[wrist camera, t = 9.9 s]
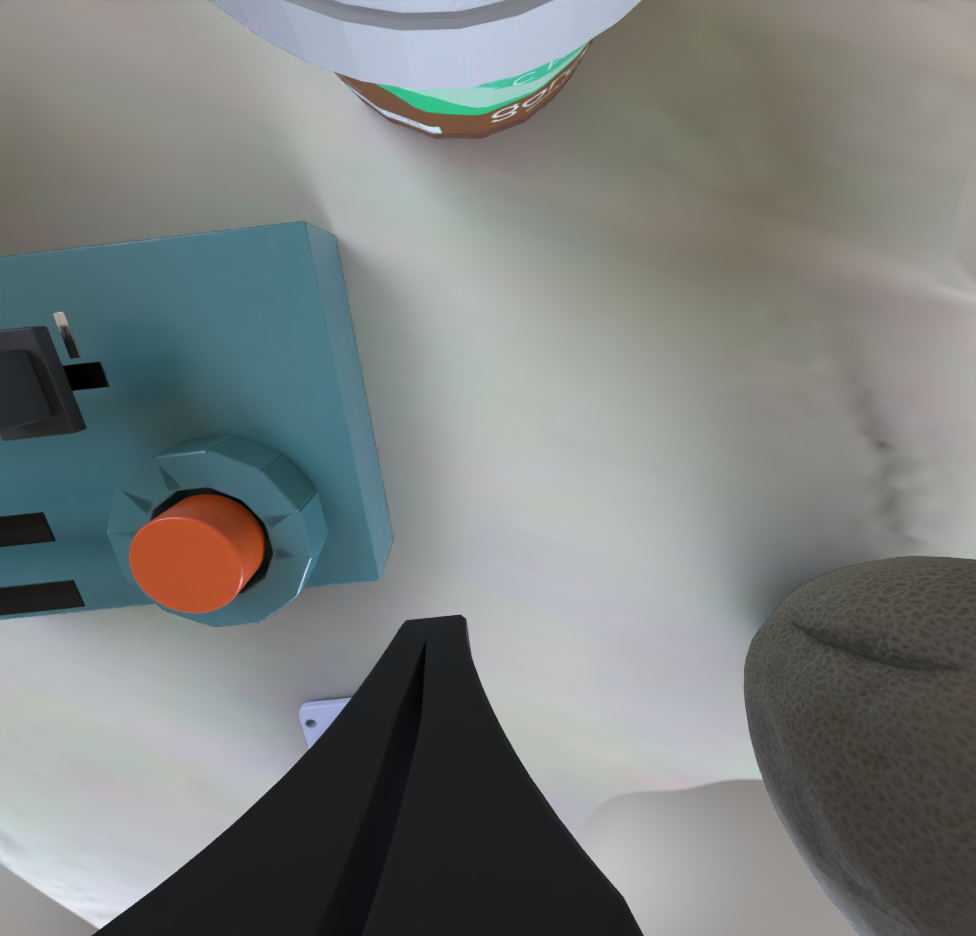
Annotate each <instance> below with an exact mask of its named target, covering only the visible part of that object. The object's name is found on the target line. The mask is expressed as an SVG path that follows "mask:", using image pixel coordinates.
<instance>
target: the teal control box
mask: <svg viewBox="0 0 976 936" xmlns="http://www.w3.org/2000/svg"><path fill="white" fill-rule="evenodd" d="M58 312H65V313H66V316H67V318H68V321H69V323H70V326H71V329H72V331H73V334H74V337H75V339H76V342H77V345H78V347H79V350H80V353H81V355H82V358H75V359H70V357H69V355H68V352H67V349H66V347H65V344H64V342H63V339H62V337H61V334H60V331H59V329H58V326H57V324H56V321H55V318H54V316H53V313H58ZM30 326H46V327H47V328H48V330H49V333H50V336H51V338H52V341H53V343H54V346H55V348H56V351H57V353H58V356H59V358H60V361H61V363H62V366H64V365H73V364H81V363H90V362H99V361H101V364H102V367H103V369H104V372H105V375H106V378H107V380H108V383H109V386H110V387H104V388H95V389H86V390H77V391H73V394H74V397H75V399H76V402H77V404H78V407H79V409H80V412H81V414H82V417H83V419H84V422H85V424H86V427H87V429H85V430H83V431H80V432H77V433H74V434H65V435H56V436H47V437H38V438H29V439H20V440H11V441H3V440H2V438H1V436H0V516H6V515H16V514H25V513H34V512H43V513H44V515H45V517H46V519H47V521H48V524H49V526H50V528H51V530H52V533H53V535H54V537H55V539H56V541H54V542H45V543H36V544H27V545H17V546H8V547H0V587H8V586H18V585H27V584H37V583H46V582H56V581H65V580H74V581H75V584H76V586H77V588H78V590H79V592H80V595H81V597H82V599H83V601H84V604H85V607H78V608H68V609H59V610H49V611H40V612H30V613H21V614H11V615H2V616H0V620H4V619H14V618H23V617H33V616H42V615H52V614H61V613H71V612H80V611H90V610H99V609H109V608H119V607H128V606H138V605H147V604H156V605H158V606H159V607H160V608H161V609H162V610H165V611H166V612H169V613H172V614H175V615H178V616H181V617H184V618H187V619H190V620H193V621H196V622H199V623H203V624H206V625H209V626H214V627H221V626H230V625H240V624H249V623H259V622H261V621H263V620H265V619H266V618H268V617H269V616H271V615H272V614H274V613H275V612H276V611H278V610H279V609H281V608H282V607H284V606H285V605H286V604H288V603H289V602H291V601H292V600H294V599H295V598H296V597H297V596H298V594H299V593H300V592H301V590H302V588H309V587H318V586H328V585H338V584H347V583H357V582H366V581H376V580H380V577H381V575H382V572H383V569H384V566H385V563H386V560H387V557H388V555H389V552H390V549H391V546H392V543H393V540H394V538H393V533H392V528H391V523H390V517H389V512H388V507H387V502H386V497H385V491H384V486H383V481H382V476H381V471H380V465H379V460H378V455H377V450H376V445H375V439H374V434H373V429H372V424H371V419H370V413H369V408H368V403H367V398H366V392H365V387H364V382H363V377H362V372H361V366H360V361H359V356H358V351H357V346H356V340H355V335H354V330H353V325H352V320H351V314H350V309H349V304H348V299H347V294H346V288H345V283H344V278H343V273H342V267H341V262H340V257H339V252H338V247H337V241H336V237H335V235H333V234H331V233H329V232H327V231H324V230H322V229H320V228H318V227H316V226H314V225H311V224H309V223H307V222H305V221H299V222H291V223H282V224H274V225H265V226H257V227H248V228H239V229H231V230H222V231H214V232H205V233H197V234H188V235H179V236H171V237H162V238H154V239H145V240H137V241H128V242H120V243H111V244H102V245H94V246H85V247H77V248H68V249H60V250H51V251H42V252H34V253H25V254H17V255H8V256H0V330H4V329H13V328H22V327H30ZM200 494H213V495H219V496H223V497H227V498H229V499H232V500H234V501H236V502H238V503H239V504H241V505H242V506H244V507H245V508H247V509H248V510H249V511H250V512H251V513H252V514H253V515H254V516H255V518H256V519H257V520H258V522H259V523H260V525H261V527H262V529H263V532H264V535H265V540H266V553H265V557H264V560H263V562H262V564H261V565H260V567H259V568H258V570H257V571H256V572H255V573H254V574H253V576H252V577H251V578H250V579H249V581H248V582H247V583H246V584H245V586H244V587H243V588H242V589H241V590H240V592H239V593H238V594H237V595H236V596H235V598H234V599H233V600H232V601H231V602H229V603H228V604H227V605H225V606H223V607H221V608H219V609H217V610H214V611H210V612H205V613H186V612H180V611H177V610H173V609H171V608H168V607H166V606H164V605H162V604H160V603H159V602H157V601H155V600H154V599H153V598H151V597H150V596H149V595H148V594H147V593H146V592H145V591H144V590H143V589H142V588H141V587H140V586H139V584H138V583H137V581H136V580H135V578H134V576H133V573H132V571H131V568H130V563H129V550H130V546H131V543H132V540H133V538H134V536H135V535H136V533H137V532H138V531H139V530H140V529H141V528H142V527H143V526H144V525H146V524H147V523H149V522H150V521H152V520H153V519H155V518H156V517H157V516H159V515H160V514H162V513H163V512H165V511H166V510H168V509H169V508H171V507H172V506H174V505H175V504H177V503H178V502H180V501H181V500H183V499H185V498H187V497H190V496H194V495H200Z"/></svg>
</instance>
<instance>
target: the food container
mask: <svg viewBox="0 0 976 936" xmlns="http://www.w3.org/2000/svg"><path fill="white" fill-rule="evenodd" d="M210 1H211V2H212V3H214V4H215V5H216V6H218V7H219V8H220V9H222V10H223V11H224V12H226V13H227V14H229V15H230V16H231V17H233V18H234V19H235V20H237V21H238V22H239V23H241V24H242V25H243V26H245V27H246V28H247V29H249V30H250V31H251V32H253V33H254V34H256V35H257V36H259V37H261V38H263V39H265V40H267V41H269V42H270V43H272V44H274V45H276V46H278V47H280V48H282V49H283V50H285V51H287V52H289V53H291V54H293V55H295V56H296V57H298V58H300V59H302V60H304V61H306V62H308V63H310V64H313V65H316V66H319V67H322V68H325V69H328V70H330V71H333V72H334V73H335V74H336V75H337V76H338V77H339V78H340V79H341V80H342V81H343V82H344V83H345V84H346V85H347V86H348V87H349V88H350V89H351V90H352V91H353V92H354V93H355V94H356V95H357V96H358V97H359V98H360V99H361V100H362V101H364V102H365V103H366V104H368V105H369V106H371V107H372V108H373V109H375V110H376V111H377V112H379V113H380V114H381V115H383V116H384V117H385V118H387V119H388V120H389V121H391V122H393V123H396V124H399V125H401V126H404V127H407V128H409V129H412V130H415V131H417V132H420V133H423V134H426V135H428V136H431V137H434V138H484V137H487V136H489V135H492V134H495V133H497V132H500V131H502V130H505V129H508V128H510V127H513V126H515V125H518V124H521V123H523V122H525V121H526V120H527V119H529V118H530V117H531V116H532V115H534V114H535V113H536V112H537V111H538V110H540V109H541V108H542V107H543V106H545V105H546V104H547V103H548V102H549V101H551V100H552V99H553V98H554V97H555V96H556V95H557V93H558V92H559V91H560V90H561V88H562V87H563V86H564V85H565V84H566V82H567V81H568V80H569V79H570V77H571V76H572V74H573V72H574V71H575V69H576V67H577V66H578V64H579V62H580V61H581V59H582V57H583V56H584V54H585V53H586V51H587V49H588V48H589V46H590V44H591V43H592V41H593V39H594V38H595V37H596V36H597V35H599V34H600V33H602V32H603V31H605V30H606V29H608V28H610V27H611V26H613V25H614V24H616V23H617V22H618V21H619V20H621V19H622V18H623V17H624V16H625V15H626V14H627V13H628V12H629V11H630V10H632V9H633V8H634V7H635V6H636V5H637V4H638V3H639V2H640V1H641V0H210Z"/></svg>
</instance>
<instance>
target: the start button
mask: <svg viewBox="0 0 976 936" xmlns="http://www.w3.org/2000/svg"><path fill="white" fill-rule="evenodd" d="M265 553H266V540H265V535H264V532H263V529H262V527H261V525H260V523H259V522H258V520H257V519H256V518H255V516H254V515H253V514H252V513H251V512H250V511H249V510H248V509H247V508H245V507H244V506H242V505H241V504H239V503H238V502H236V501H234V500H232V499H229V498H227V497H223V496H219V495H213V494H200V495H194V496H190V497H187V498H185V499H183V500H181V501H180V502H178V503H177V504H175V505H174V506H172V507H171V508H169V509H168V510H166V511H165V512H163V513H162V514H160V515H159V516H157V517H156V518H155V519H153V520H152V521H150V522H149V523H147V524H146V525H144V526H143V527H142V528H141V529H140V530H139V531H138V532H137V533H136V535H135V536H134V538H133V540H132V543H131V546H130V550H129V563H130V568H131V571H132V573H133V576H134V578H135V580H136V581H137V583H138V584H139V586H140V587H141V588H142V589H143V590H144V591H145V592H146V593H147V594H148V595H149V596H150V597H151V598H153V599H154V600H155V601H157V602H159V603H160V604H162V605H164V606H166V607H168V608H171V609H173V610H177V611H180V612H186V613H205V612H210V611H214V610H217V609H219V608H221V607H223V606H225V605H227V604H228V603H229V602H231V601H232V600H233V599H234V598H235V596H236V595H237V594H238V593H239V592H240V590H241V589H242V588H243V587H244V586H245V584H246V583H247V582H248V581H249V579H250V578H251V577H252V576H253V574H254V573H255V572H256V571H257V570H258V568H259V567H260V565H261V564H262V562H263V560H264V557H265Z"/></svg>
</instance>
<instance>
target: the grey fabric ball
mask: <svg viewBox="0 0 976 936" xmlns="http://www.w3.org/2000/svg"><path fill="white" fill-rule="evenodd" d="M744 696H745V707H746V713H747V720H748V726H749V732H750V737H751V741H752V745H753V749H754V753H755V757H756V760H757V763H758V766H759V769H760V772H761V775H762V778H763V781H764V783H765V786H766V789H767V791H768V793H769V796H770V798H771V801H772V803H773V805H774V808H775V810H776V812H777V814H778V816H779V818H780V820H781V822H782V824H783V825H784V827H785V829H786V831H787V833H788V835H789V837H790V838H791V840H792V842H793V844H794V845H795V847H796V849H797V850H798V852H799V854H800V855H801V857H802V858H803V860H804V862H805V863H806V865H807V867H808V868H809V870H810V871H811V873H812V874H813V876H814V877H815V878H816V880H817V882H818V883H819V885H820V886H821V887H822V889H823V890H824V892H825V893H826V895H827V896H828V898H829V899H830V900H831V901H832V902H833V904H834V905H835V906H836V907H837V909H838V910H839V911H840V912H841V914H842V915H843V916H844V917H845V918H846V920H847V921H848V922H849V923H850V925H851V926H852V927H853V928H854V930H855V931H856V932H857V933H858V934H859V935H860V936H976V560H973V559H962V558H951V557H928V556H909V557H897V558H890V559H884V560H877V561H871V562H866V563H862V564H857V565H853V566H849V567H845V568H842V569H839V570H836V571H833V572H830V573H827V574H825V575H822V576H820V577H818V578H816V579H814V580H812V581H810V582H807V583H805V584H804V585H802V586H801V587H799V588H798V589H796V590H795V591H793V592H792V593H791V594H790V595H789V596H787V597H786V598H785V599H784V600H783V601H782V602H781V603H780V604H779V606H778V607H777V608H776V610H775V611H774V612H773V613H772V615H771V616H770V617H769V618H768V619H767V621H766V622H765V623H764V624H763V626H762V627H761V628H760V629H759V630H758V632H757V633H756V635H755V636H754V638H753V639H752V641H751V644H750V647H749V650H748V653H747V657H746V661H745V668H744Z"/></svg>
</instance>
